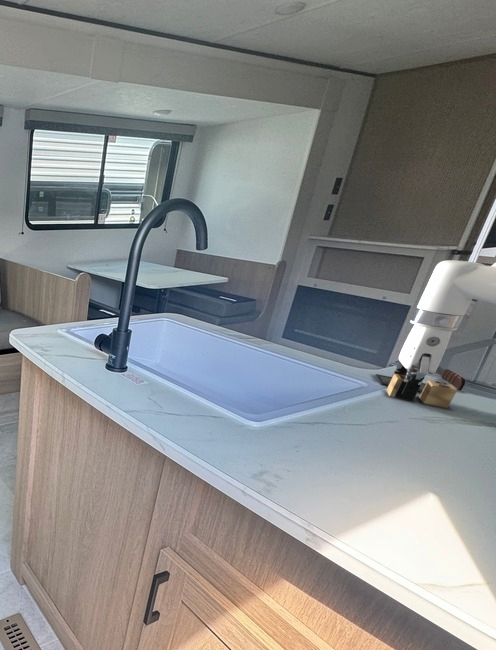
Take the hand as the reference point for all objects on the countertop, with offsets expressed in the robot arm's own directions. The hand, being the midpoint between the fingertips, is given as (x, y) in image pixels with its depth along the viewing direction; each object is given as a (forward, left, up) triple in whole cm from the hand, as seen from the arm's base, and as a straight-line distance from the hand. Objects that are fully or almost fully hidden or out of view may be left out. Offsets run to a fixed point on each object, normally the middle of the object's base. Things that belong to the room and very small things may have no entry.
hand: (400, 392), depth 100 cm
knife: (-12, -23, -1) cm, 26 cm away
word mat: (-3, -10, -1) cm, 10 cm away
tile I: (-6, 0, -1) cm, 6 cm away
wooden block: (0, 0, -1) cm, 1 cm away
